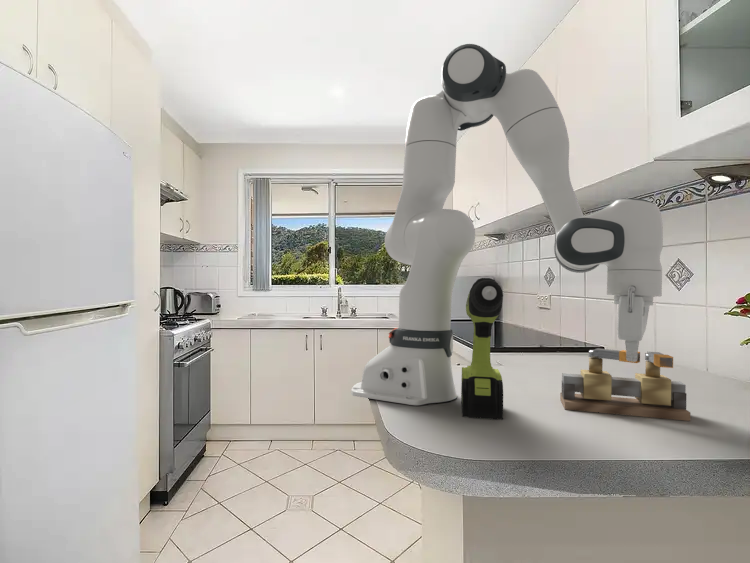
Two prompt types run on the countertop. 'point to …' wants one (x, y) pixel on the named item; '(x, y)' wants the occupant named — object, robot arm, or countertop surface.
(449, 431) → the countertop surface
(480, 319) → the cordless drill
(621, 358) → the left valve lever
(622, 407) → the valve manifold
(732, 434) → the countertop surface
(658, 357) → the right valve lever
